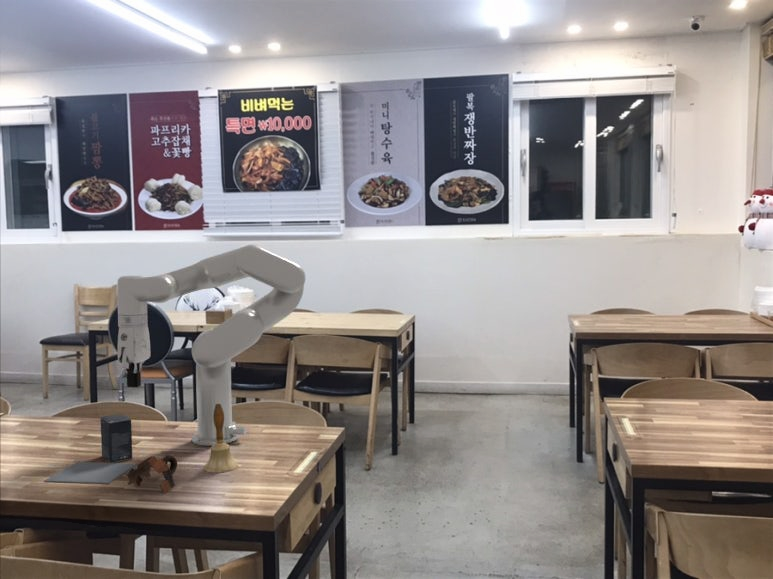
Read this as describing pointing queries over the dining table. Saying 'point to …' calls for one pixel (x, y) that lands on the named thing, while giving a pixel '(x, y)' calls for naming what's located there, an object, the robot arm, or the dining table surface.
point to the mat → (91, 472)
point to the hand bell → (220, 448)
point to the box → (116, 438)
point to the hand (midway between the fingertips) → (133, 386)
